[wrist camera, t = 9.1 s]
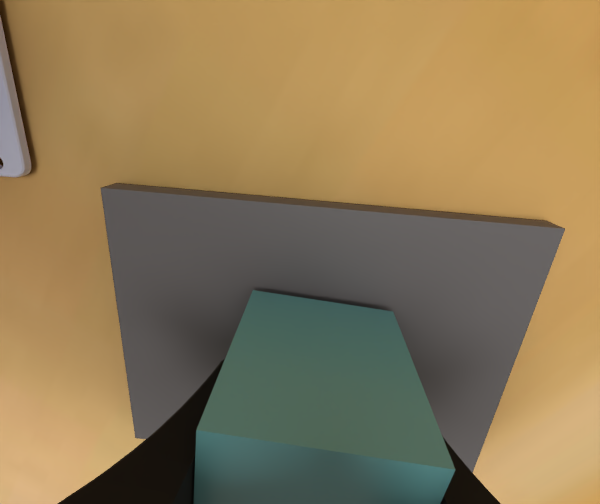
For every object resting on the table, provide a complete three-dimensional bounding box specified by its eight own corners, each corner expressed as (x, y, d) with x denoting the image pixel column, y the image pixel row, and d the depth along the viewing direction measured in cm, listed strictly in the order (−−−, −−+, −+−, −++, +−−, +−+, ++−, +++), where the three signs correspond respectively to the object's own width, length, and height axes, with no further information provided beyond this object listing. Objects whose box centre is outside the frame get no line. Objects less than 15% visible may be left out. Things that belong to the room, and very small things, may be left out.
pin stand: (145, 420, 17) (48, 586, 11) (116, 183, 13) (-73, 237, 6) (463, 453, 16) (546, 645, 10) (546, 220, 12) (771, 315, 6)
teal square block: (242, 398, 14) (190, 578, 8) (252, 290, 12) (196, 429, 7) (363, 416, 14) (392, 610, 8) (393, 311, 12) (455, 470, 7)
